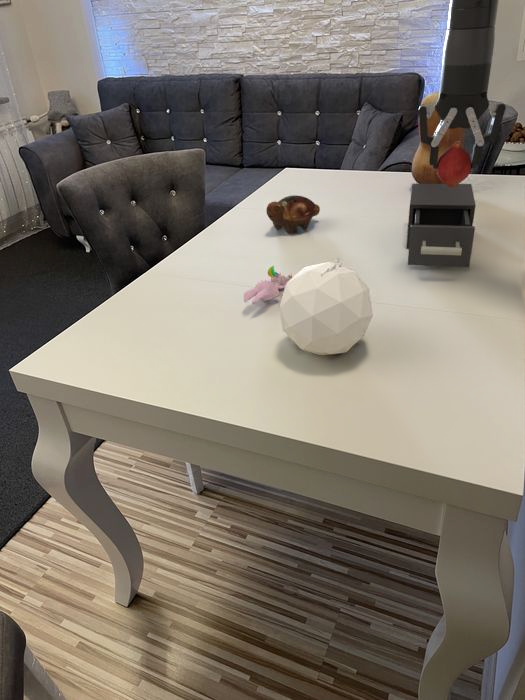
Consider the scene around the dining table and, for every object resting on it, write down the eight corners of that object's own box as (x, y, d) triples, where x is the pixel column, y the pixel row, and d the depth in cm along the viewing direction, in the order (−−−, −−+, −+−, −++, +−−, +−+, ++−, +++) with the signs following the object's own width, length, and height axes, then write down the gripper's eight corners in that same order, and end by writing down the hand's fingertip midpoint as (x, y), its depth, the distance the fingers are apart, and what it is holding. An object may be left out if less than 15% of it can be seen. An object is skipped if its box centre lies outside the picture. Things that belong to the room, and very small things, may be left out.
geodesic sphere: (302, 278, 92) (282, 233, 79) (386, 287, 87) (379, 240, 74) (281, 360, 87) (256, 326, 74) (368, 374, 82) (358, 340, 70)
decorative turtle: (256, 233, 128) (254, 199, 124) (301, 220, 136) (300, 188, 132) (284, 240, 121) (283, 205, 117) (329, 226, 130) (330, 192, 126)
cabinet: (468, 250, 111) (475, 205, 106) (406, 248, 114) (409, 204, 109) (465, 225, 122) (471, 183, 117) (408, 224, 126) (412, 183, 120)
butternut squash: (402, 186, 150) (409, 88, 137) (447, 181, 152) (458, 83, 138) (423, 201, 139) (434, 95, 125) (472, 194, 140) (487, 90, 127)
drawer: (470, 278, 98) (476, 237, 94) (406, 275, 101) (409, 236, 97) (465, 240, 113) (470, 204, 109) (409, 239, 116) (412, 203, 112)
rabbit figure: (271, 285, 106) (233, 308, 94) (271, 256, 104) (232, 276, 92) (300, 290, 104) (264, 314, 92) (301, 260, 101) (264, 281, 89)
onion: (434, 192, 95) (438, 145, 91) (435, 182, 100) (439, 137, 95) (468, 192, 93) (475, 144, 89) (468, 183, 98) (474, 137, 94)
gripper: (420, 65, 84) (411, 173, 93) (518, 60, 81) (499, 173, 90) (420, 60, 90) (412, 162, 99) (512, 55, 87) (495, 161, 96)
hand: (454, 167), depth 95 cm, fingers closed on onion, 6 cm apart
